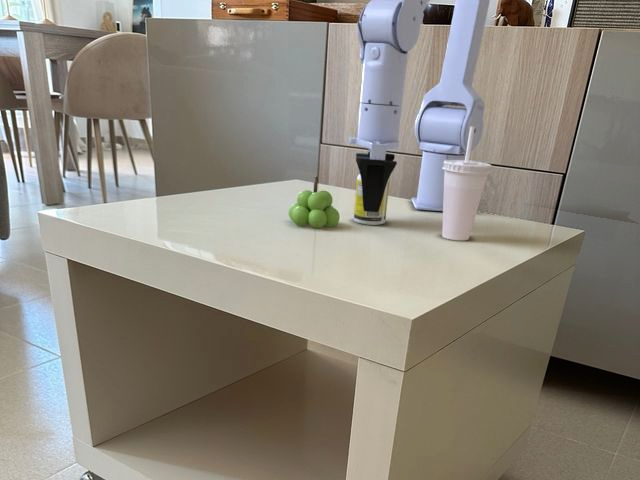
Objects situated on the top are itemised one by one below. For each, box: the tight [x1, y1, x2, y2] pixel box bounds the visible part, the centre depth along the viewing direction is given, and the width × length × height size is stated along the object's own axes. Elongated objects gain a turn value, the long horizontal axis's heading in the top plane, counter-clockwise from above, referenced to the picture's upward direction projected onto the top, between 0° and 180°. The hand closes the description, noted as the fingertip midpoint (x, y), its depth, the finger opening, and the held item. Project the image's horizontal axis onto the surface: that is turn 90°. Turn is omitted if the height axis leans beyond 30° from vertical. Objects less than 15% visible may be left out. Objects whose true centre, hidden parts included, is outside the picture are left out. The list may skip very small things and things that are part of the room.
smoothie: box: [441, 127, 493, 242], centre depth 84 cm, size 6×6×14 cm
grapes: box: [288, 175, 341, 229], centre depth 87 cm, size 7×7×6 cm
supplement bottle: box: [353, 173, 390, 226], centre depth 91 cm, size 5×5×8 cm
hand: (370, 208), depth 92 cm, fingers closed on supplement bottle, 5 cm apart
